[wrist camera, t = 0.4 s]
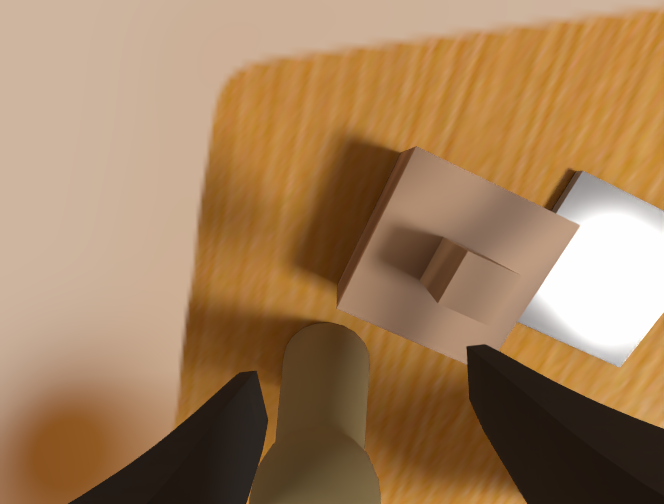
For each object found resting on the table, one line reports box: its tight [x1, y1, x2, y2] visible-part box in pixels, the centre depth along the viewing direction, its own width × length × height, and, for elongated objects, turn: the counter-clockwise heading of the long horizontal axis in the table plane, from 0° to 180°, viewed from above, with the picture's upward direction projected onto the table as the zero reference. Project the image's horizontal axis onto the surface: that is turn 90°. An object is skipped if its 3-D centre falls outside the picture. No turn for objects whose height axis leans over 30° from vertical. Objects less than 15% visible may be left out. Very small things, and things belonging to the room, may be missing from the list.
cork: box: [249, 323, 381, 504], centre depth 16 cm, size 6×6×11 cm
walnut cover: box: [337, 146, 581, 365], centre depth 16 cm, size 9×9×7 cm
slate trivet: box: [518, 171, 664, 367], centre depth 19 cm, size 10×10×1 cm
